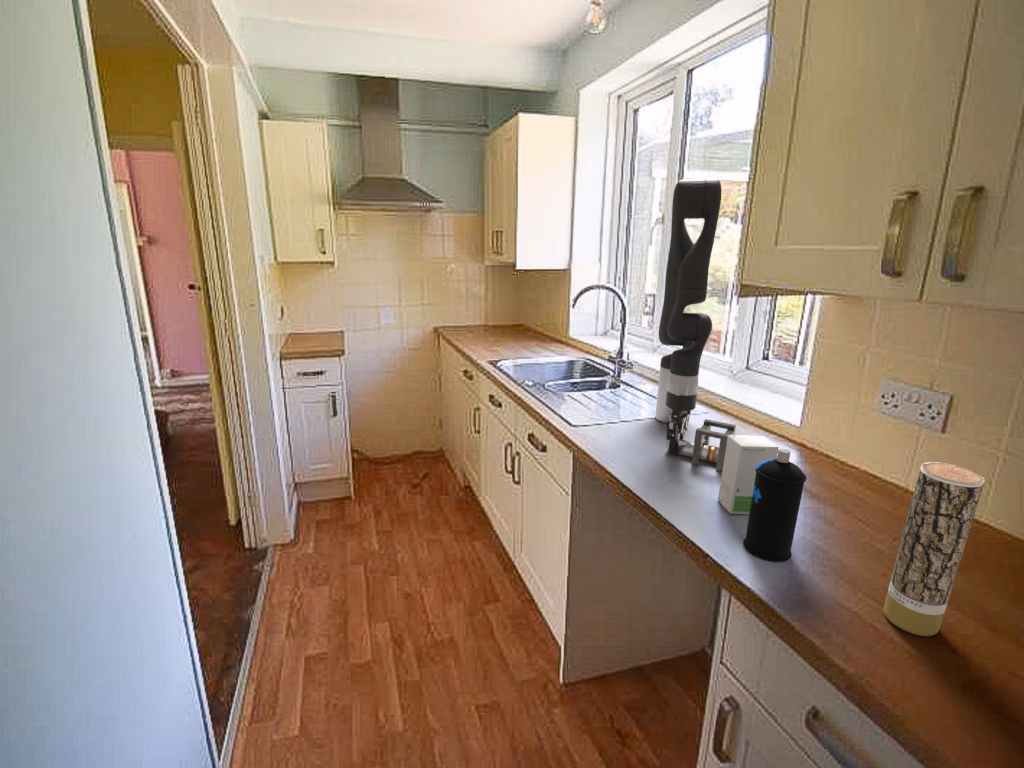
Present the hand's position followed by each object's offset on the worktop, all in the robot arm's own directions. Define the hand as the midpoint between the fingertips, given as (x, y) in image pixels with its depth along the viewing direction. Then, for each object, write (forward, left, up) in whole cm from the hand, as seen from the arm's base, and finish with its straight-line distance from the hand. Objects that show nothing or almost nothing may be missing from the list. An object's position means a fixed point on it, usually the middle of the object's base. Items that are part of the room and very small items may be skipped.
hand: (675, 450), depth 136 cm
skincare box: (+20, +20, -1) cm, 29 cm away
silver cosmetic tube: (0, +6, -1) cm, 6 cm away
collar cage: (0, +9, -1) cm, 10 cm away
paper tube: (+42, +48, -1) cm, 64 cm away
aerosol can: (+34, +27, -1) cm, 44 cm away
